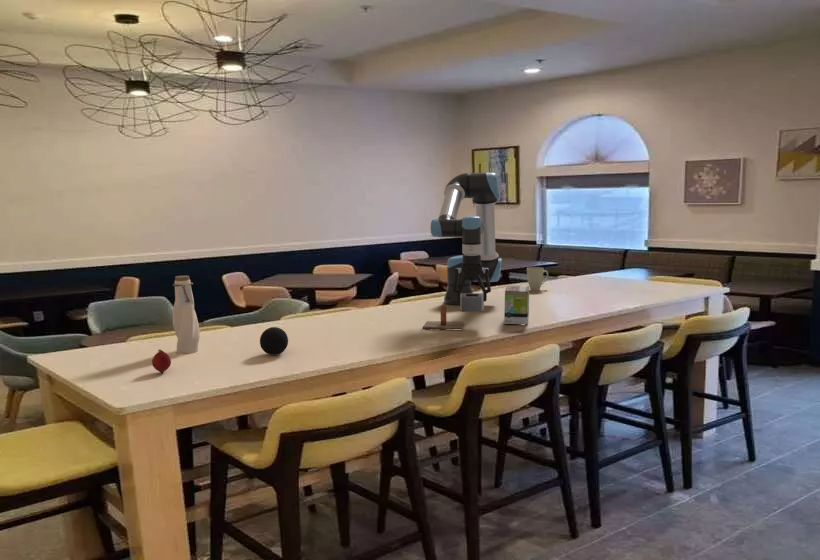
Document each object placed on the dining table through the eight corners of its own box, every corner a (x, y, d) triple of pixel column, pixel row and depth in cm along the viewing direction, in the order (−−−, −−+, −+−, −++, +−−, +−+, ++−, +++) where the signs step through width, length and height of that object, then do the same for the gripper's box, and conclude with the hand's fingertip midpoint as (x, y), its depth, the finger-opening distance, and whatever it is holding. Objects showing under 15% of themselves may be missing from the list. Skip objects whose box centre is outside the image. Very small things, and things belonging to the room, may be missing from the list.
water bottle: (206, 351, 250) (201, 276, 246) (183, 356, 244) (177, 279, 240) (193, 346, 257) (188, 274, 253) (170, 351, 251) (165, 276, 247)
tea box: (528, 325, 282) (528, 290, 280) (503, 325, 284) (503, 290, 282) (529, 318, 296) (529, 285, 294) (506, 317, 298) (506, 284, 296)
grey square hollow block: (463, 307, 284) (463, 293, 283) (482, 307, 282) (482, 293, 281) (461, 311, 276) (461, 297, 275) (481, 311, 275) (481, 297, 274)
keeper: (426, 323, 290) (426, 302, 289) (464, 324, 287) (463, 302, 286) (422, 329, 278) (422, 307, 277) (461, 330, 276) (461, 308, 274)
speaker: (276, 359, 237) (274, 331, 235) (254, 356, 242) (253, 329, 240) (294, 352, 246) (293, 325, 244) (273, 349, 250) (271, 323, 249)
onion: (166, 369, 228) (164, 346, 226) (175, 372, 224) (173, 348, 222) (149, 373, 223) (147, 349, 222) (158, 376, 219) (156, 352, 218)
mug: (541, 292, 360) (541, 269, 358) (524, 290, 365) (524, 268, 364) (548, 289, 369) (549, 267, 368) (531, 287, 375) (531, 266, 373)
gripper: (445, 255, 273) (445, 310, 277) (497, 255, 270) (497, 311, 274) (447, 253, 280) (448, 306, 284) (497, 253, 277) (498, 307, 281)
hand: (472, 308), depth 279 cm, fingers closed on grey square hollow block, 8 cm apart
